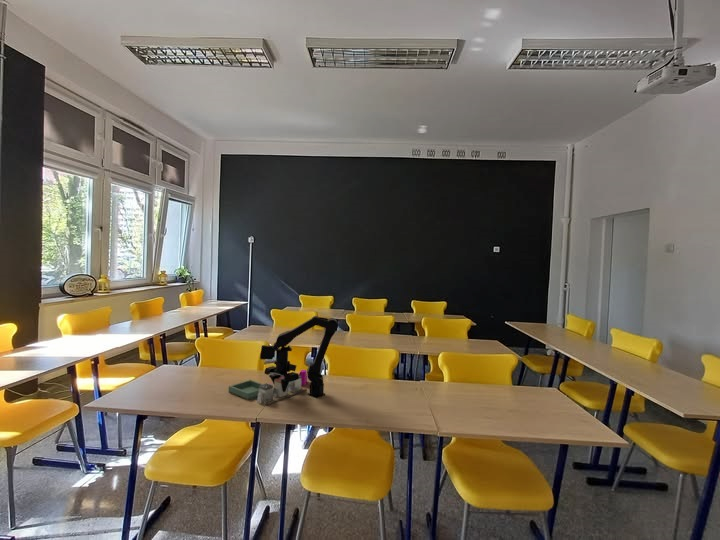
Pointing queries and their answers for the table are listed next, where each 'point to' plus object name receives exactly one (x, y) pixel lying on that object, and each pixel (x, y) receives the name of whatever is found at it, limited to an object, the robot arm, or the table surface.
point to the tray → (245, 389)
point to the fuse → (279, 387)
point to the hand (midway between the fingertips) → (280, 390)
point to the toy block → (302, 377)
